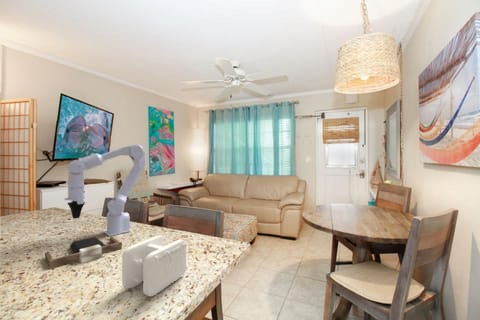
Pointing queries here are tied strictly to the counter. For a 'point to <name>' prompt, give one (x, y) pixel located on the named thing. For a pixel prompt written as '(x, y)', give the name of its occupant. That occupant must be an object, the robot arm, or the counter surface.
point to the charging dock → (84, 254)
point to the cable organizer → (153, 264)
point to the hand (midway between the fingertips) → (76, 217)
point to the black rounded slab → (85, 244)
